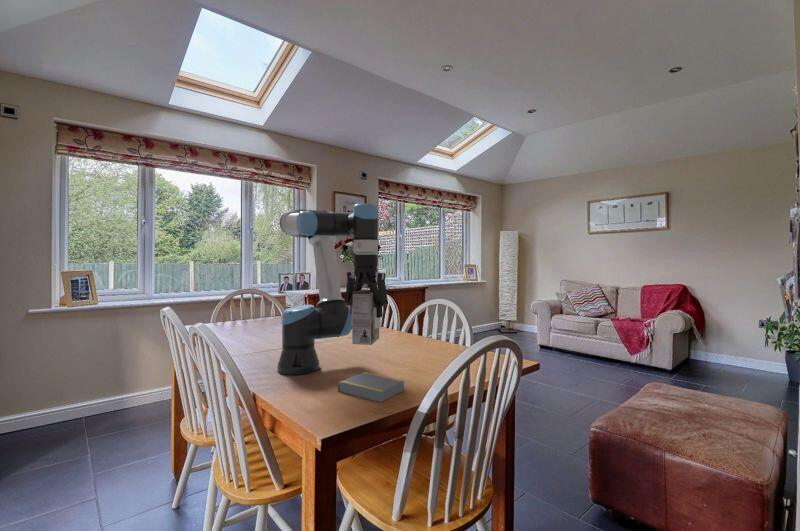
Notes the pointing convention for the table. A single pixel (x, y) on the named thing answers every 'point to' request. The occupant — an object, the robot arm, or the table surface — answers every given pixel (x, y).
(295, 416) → the table surface
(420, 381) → the table surface
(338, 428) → the table surface
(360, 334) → the coffee box
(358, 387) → the dock
